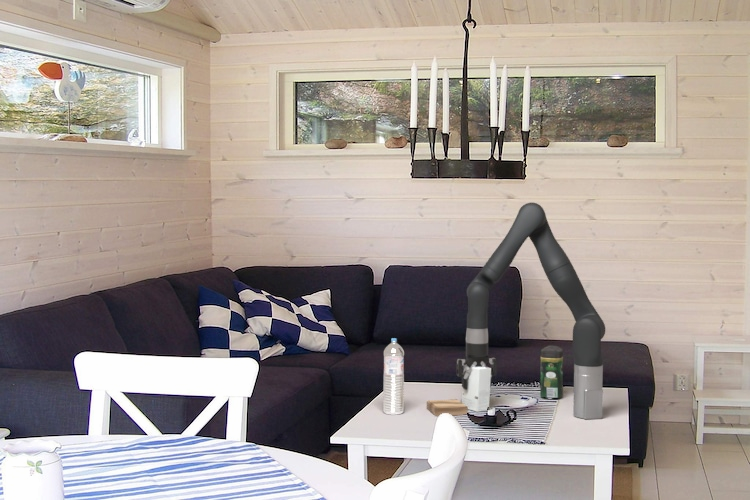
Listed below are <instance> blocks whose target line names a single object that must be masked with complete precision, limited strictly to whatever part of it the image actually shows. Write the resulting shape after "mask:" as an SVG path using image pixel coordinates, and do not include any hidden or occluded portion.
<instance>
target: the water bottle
mask: <svg viewBox="0 0 750 500" xmlns="http://www.w3.org/2000/svg"><path fill="white" fill-rule="evenodd" d="M390 341H391V342H390V343H389V344H388V345H387V346H386V347H385V348H384V350H383V383H382V384H383V388H382V389H383V391H382V392H383V396H382V397H383V403H382V404H383V405H382V406H383V408H382V409H383V413H384V414H386V415H390V416H391V415H392V416H393V415H395V416H396V415H397V416H398V415H401V414H403V413H404V411H405V409H404V408H405V407H404V405H405V404H404V403H405V402H404V398H405V396H404V395H405V394H404V393H405V391H404V390H405V386H404V385H405V373H404V372H405V371H404V370H405V369H404V364H405V362H404V361H405V358H404V356H405V351H404V349H403V347H402V346H401V345H400V344H399V343H398V338H395V337H394V338H393V337H392V338H391V340H390Z"/></svg>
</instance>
